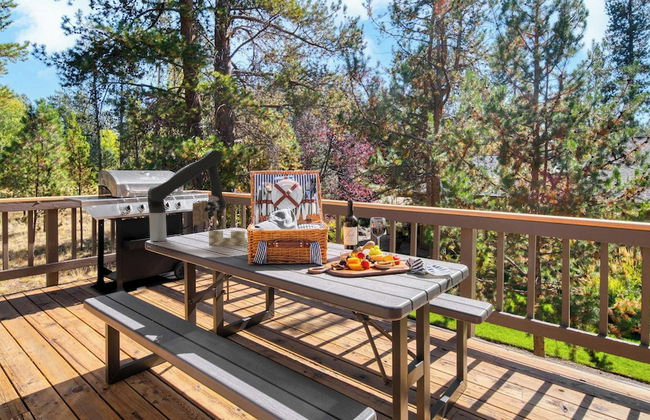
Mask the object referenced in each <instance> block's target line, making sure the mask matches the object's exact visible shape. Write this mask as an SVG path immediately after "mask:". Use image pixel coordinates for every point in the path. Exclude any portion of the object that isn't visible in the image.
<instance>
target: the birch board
mask: <svg viewBox="0 0 650 420" xmlns="http://www.w3.org/2000/svg"><path fill="white" fill-rule="evenodd" d="M245 233H246V231H245V230H231V231H230V237H224V230H209V231H208V245H209V246H245V245H246V238H245V237H246V235H245Z"/></svg>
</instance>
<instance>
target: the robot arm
mask: <svg viewBox="0 0 650 420" xmlns="http://www.w3.org/2000/svg"><path fill="white" fill-rule="evenodd" d="M222 160H223V153H222V152H221V151H220V150H219V149H208V150H207V151H206V152H205V154H204V156H203V157H202V158H200V159H199V160H197V161H194V162H192V163H190V164H187V165H185V166H184V167H182V168H180V169H179V170H178V171H177V172H175V173H174V174H172V176H171V177H170V178H169V179H168V180H166V181H165V182H163V183H161V184H159V185H154V186H151V187H149V188H148V191H147V204H148V212H149V213H148V214H149V215H148V216H149V241H150V242H153V241H158V242H165V241H167V240H168V239H167V221H166V220H167V218H166V217H167V216H166V215H167V213H166V207H165V199H166V198H167V197H169V195H172V193H174V192H175V191H176V190H178V189H180V188H182V187H183V186H185V185H187V184H189V183H190V182H191V181H193V180H194V179H196V178H197V177H198V176H200V175H202V173H204V172H205V171H207V173H208V175H209V176H208V177H209V184H210V185H209V187H210V193H211V194H210V195H211V196H213V197H216V198H218V199H211V200H209V201H207V203H208V207H207V208H205V212H207V211H208V215H210V214H211V215H212V214H214V213H216V212H218V211H223V210H225V209H226V208H227V203H226V200H225V198H224V193H223V187H222V182H221V178H220V175H219V170H218V164H219V163H221V162H222Z"/></svg>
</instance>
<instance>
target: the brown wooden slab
mask: <svg viewBox="0 0 650 420" xmlns="http://www.w3.org/2000/svg"><path fill="white" fill-rule="evenodd" d="M207 202H208V200H200V201H196V202H192V226H200V225H202V224H203V223H206V222H208V221H209V214H208V211H207V212H205V208H207V207H208V203H207Z"/></svg>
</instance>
